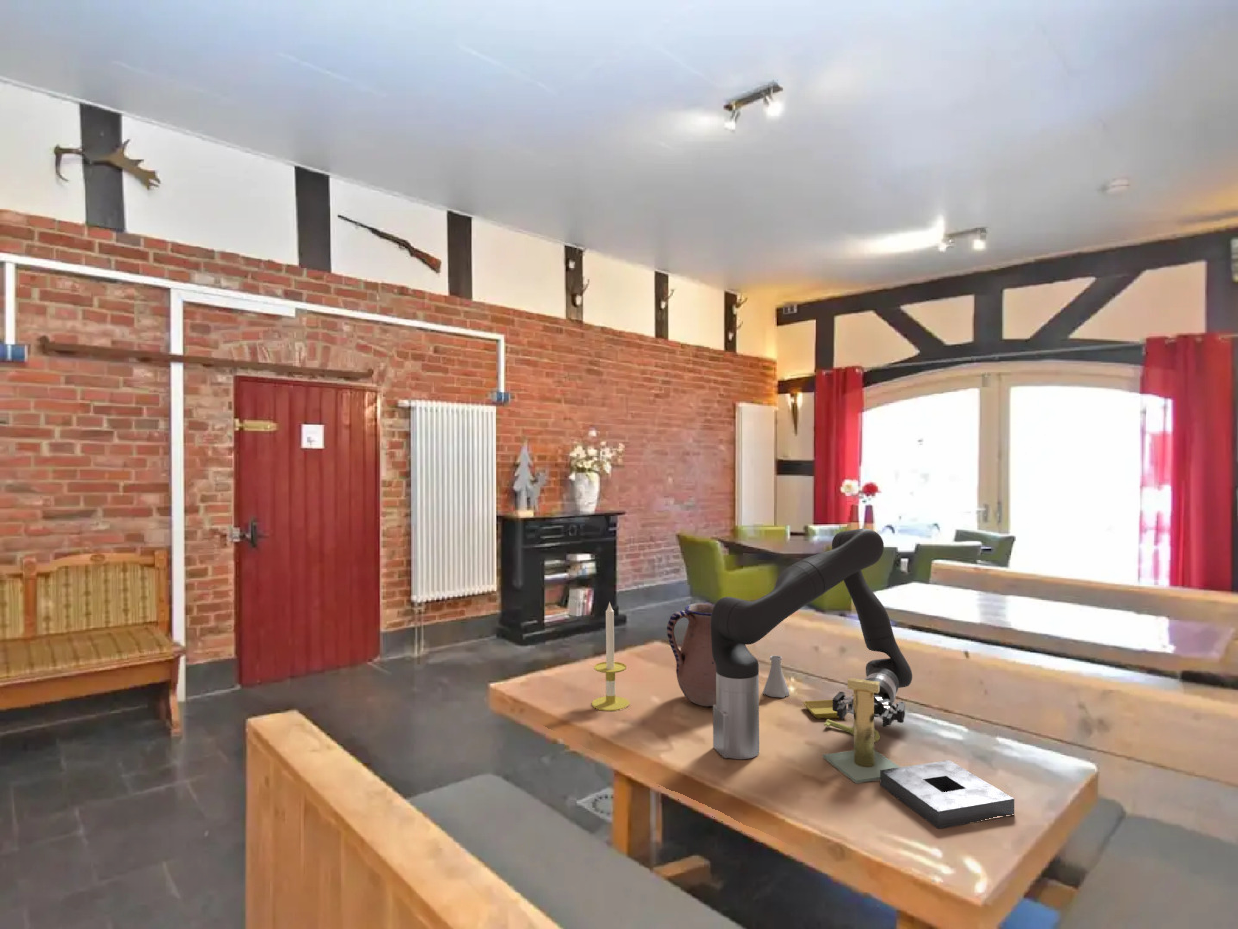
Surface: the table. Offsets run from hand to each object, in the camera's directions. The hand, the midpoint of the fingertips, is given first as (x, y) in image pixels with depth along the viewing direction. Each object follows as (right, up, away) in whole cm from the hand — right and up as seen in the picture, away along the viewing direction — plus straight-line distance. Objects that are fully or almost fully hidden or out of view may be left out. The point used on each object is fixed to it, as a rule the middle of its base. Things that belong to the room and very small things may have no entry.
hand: (862, 718), depth 139 cm
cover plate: (+11, -11, -12) cm, 20 cm away
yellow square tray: (+2, -11, +31) cm, 33 cm away
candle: (-52, -11, +38) cm, 66 cm away
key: (+4, -11, +18) cm, 22 cm away
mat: (+1, -11, +2) cm, 11 cm away
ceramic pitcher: (-27, -11, +39) cm, 49 cm away
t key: (+1, -10, +2) cm, 10 cm away
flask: (-7, -10, +45) cm, 47 cm away
